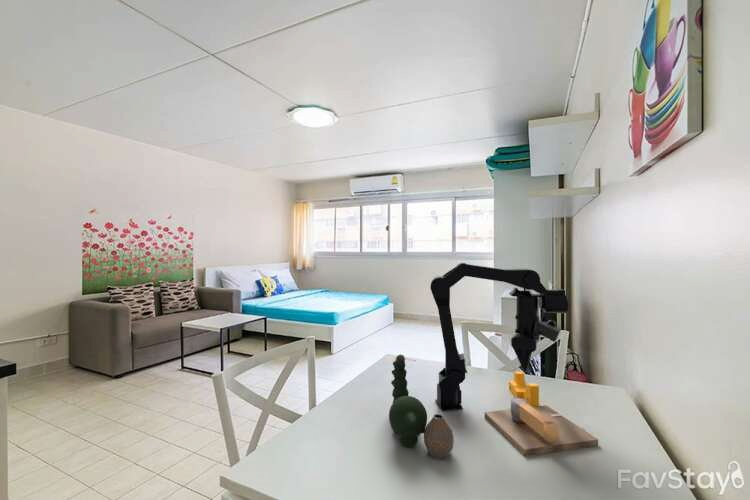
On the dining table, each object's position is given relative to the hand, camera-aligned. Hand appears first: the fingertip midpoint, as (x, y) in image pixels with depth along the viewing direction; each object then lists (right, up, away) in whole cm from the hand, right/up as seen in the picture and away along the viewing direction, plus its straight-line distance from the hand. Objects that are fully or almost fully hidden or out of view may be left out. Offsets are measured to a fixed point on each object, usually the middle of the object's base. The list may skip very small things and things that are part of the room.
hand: (526, 364), depth 98 cm
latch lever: (-4, -11, -13) cm, 18 cm away
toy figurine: (-37, -14, -10) cm, 40 cm away
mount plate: (-2, -14, -10) cm, 17 cm away
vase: (-29, -14, -20) cm, 38 cm away
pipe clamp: (+3, -14, +9) cm, 17 cm away
